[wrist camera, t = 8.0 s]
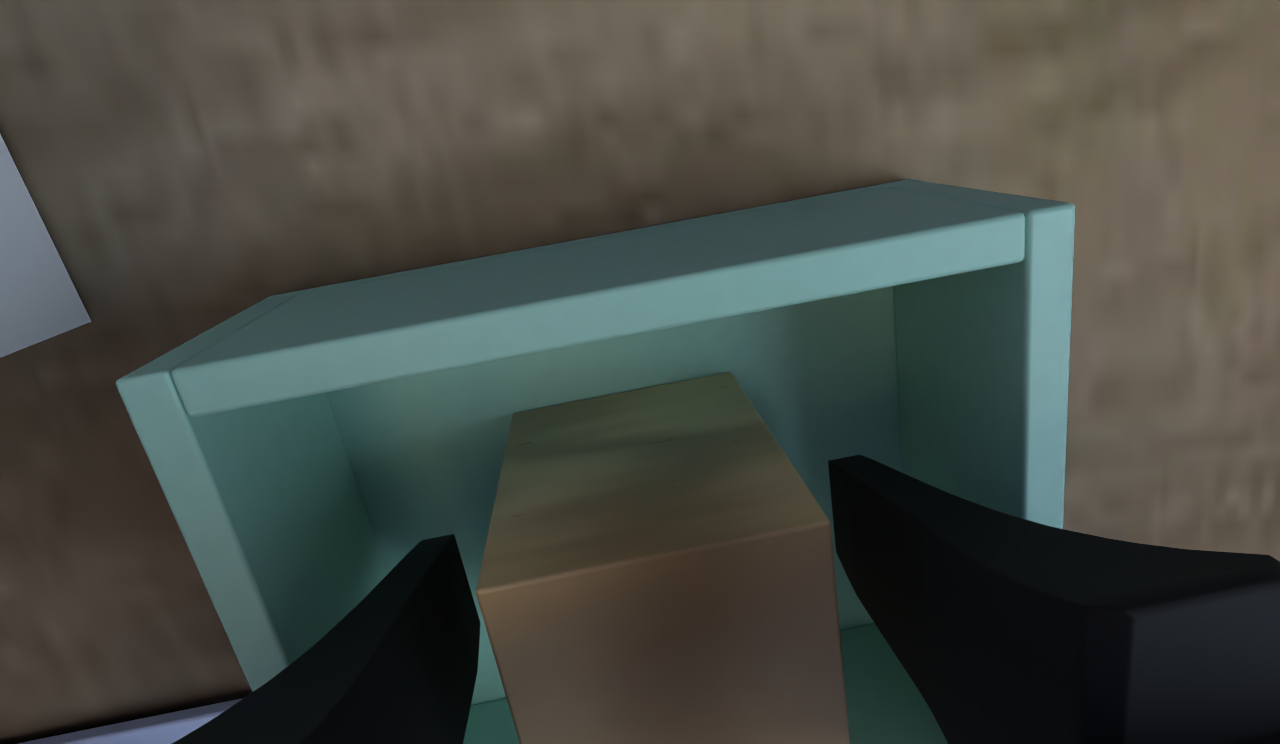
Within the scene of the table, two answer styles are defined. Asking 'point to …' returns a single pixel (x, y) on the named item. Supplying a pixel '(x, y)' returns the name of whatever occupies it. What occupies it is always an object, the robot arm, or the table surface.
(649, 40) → the table surface
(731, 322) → the desk bin
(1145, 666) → the robot arm
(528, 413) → the beech block
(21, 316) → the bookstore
